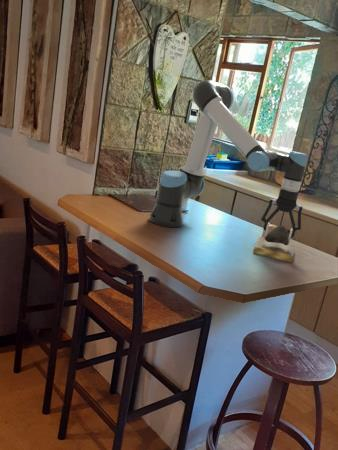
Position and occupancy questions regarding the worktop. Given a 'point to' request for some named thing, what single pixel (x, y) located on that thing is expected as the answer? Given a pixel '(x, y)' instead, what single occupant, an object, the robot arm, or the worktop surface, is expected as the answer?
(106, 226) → the worktop surface
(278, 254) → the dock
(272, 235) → the stone
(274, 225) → the peach rounded capsule
